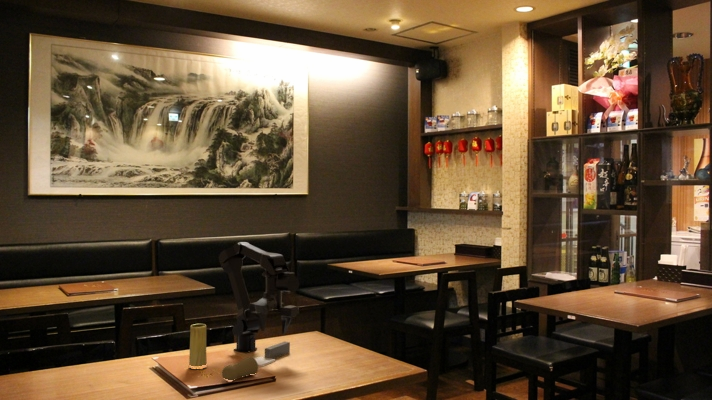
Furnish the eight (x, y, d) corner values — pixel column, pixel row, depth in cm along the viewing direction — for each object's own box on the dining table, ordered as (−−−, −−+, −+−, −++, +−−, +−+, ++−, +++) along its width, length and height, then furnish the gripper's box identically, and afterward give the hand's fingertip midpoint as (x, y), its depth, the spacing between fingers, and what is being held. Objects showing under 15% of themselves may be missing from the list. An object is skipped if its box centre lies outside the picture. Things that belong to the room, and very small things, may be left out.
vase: (184, 368, 200) (185, 326, 200) (196, 364, 205) (196, 322, 205) (199, 371, 197) (200, 328, 197) (210, 366, 203) (211, 324, 203)
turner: (244, 364, 207) (245, 352, 207) (279, 351, 224) (279, 340, 224) (260, 367, 203) (261, 355, 203) (294, 353, 221) (294, 343, 221)
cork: (254, 378, 193) (228, 389, 184) (243, 367, 196) (216, 376, 188) (260, 364, 191) (234, 373, 183) (248, 352, 194) (222, 361, 186)
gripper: (238, 290, 212) (238, 334, 212) (281, 294, 203) (281, 340, 203) (258, 286, 222) (258, 328, 222) (300, 290, 213) (299, 334, 213)
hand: (273, 332), depth 214 cm, fingers open, 9 cm apart
